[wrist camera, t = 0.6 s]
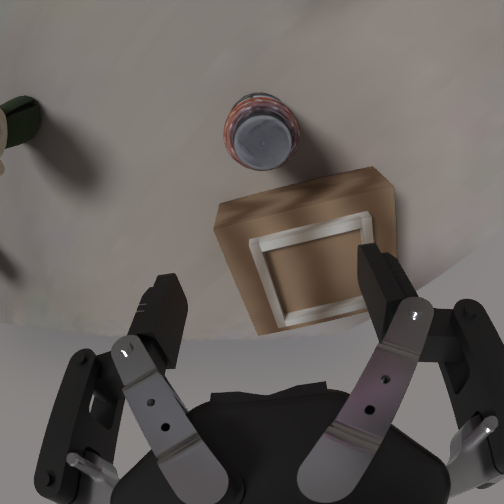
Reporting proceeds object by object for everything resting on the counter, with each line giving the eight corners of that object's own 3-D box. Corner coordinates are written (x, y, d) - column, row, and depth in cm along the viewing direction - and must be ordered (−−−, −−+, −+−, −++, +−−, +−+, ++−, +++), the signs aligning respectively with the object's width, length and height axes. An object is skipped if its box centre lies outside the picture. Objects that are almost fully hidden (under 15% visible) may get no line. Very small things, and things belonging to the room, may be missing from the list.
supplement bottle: (269, 156, 31) (276, 199, 22) (220, 129, 30) (202, 160, 20) (299, 110, 28) (322, 131, 19) (249, 81, 27) (246, 85, 17)
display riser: (372, 166, 32) (398, 191, 26) (381, 274, 40) (398, 309, 34) (219, 203, 34) (212, 236, 28) (258, 303, 43) (258, 342, 37)
